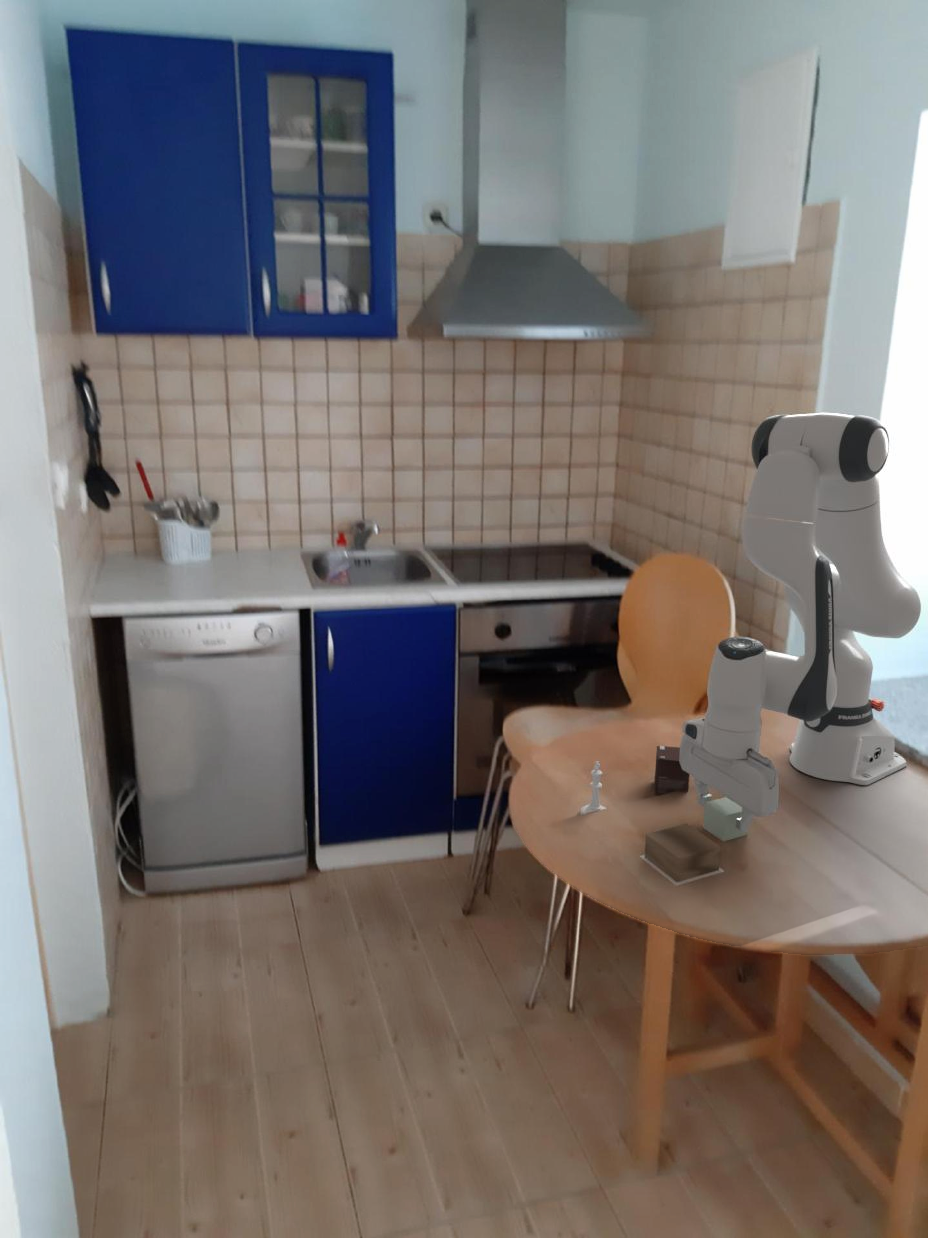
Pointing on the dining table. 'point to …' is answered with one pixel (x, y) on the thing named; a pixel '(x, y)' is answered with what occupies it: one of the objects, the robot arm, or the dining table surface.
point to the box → (669, 772)
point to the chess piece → (594, 792)
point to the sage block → (723, 819)
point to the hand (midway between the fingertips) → (722, 816)
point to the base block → (682, 852)
